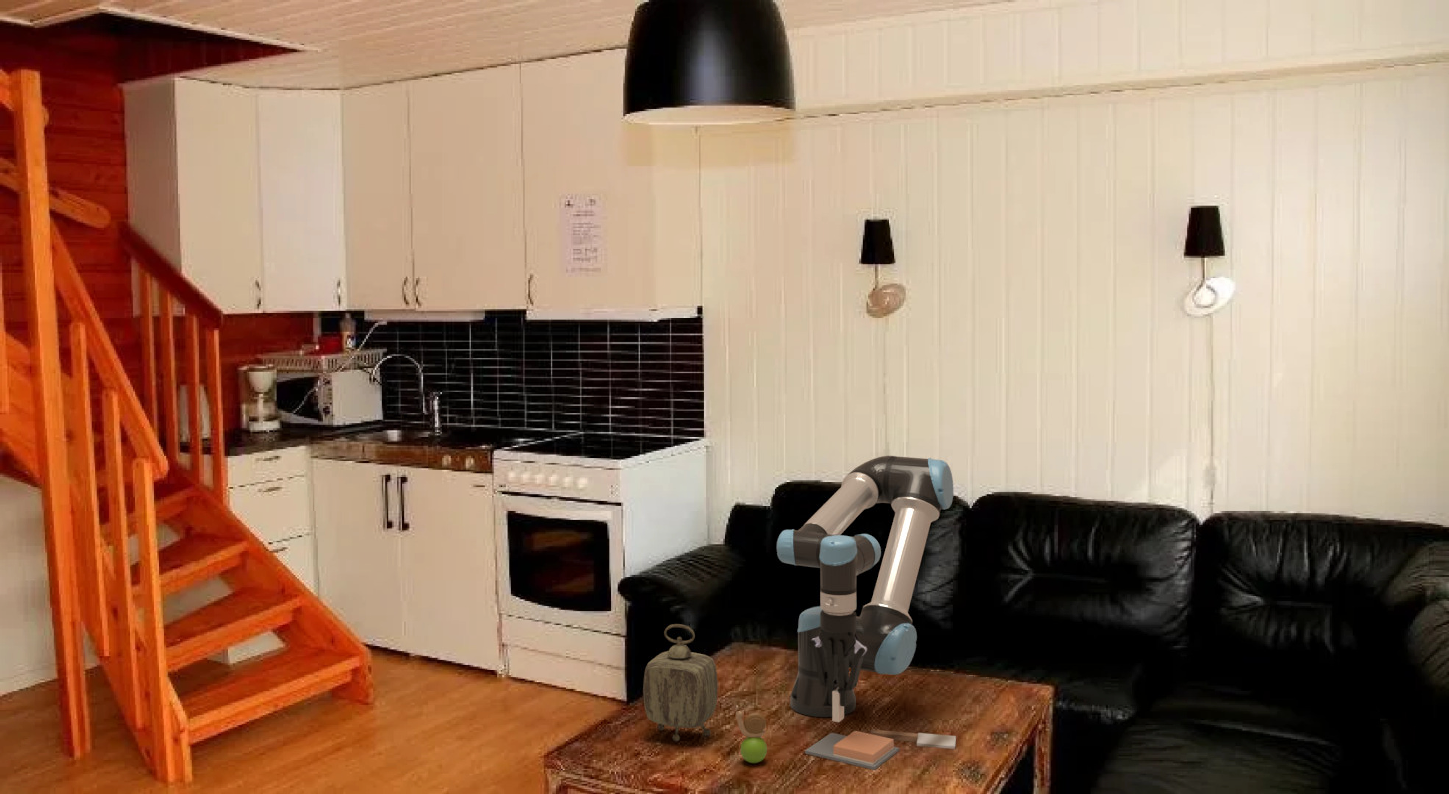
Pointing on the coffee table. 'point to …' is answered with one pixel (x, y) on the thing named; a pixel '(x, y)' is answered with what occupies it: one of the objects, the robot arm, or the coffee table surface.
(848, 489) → the robot arm
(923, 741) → the turner
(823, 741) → the mat
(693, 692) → the tabletop clock
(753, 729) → the snail figurine
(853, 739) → the tile
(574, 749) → the coffee table surface
